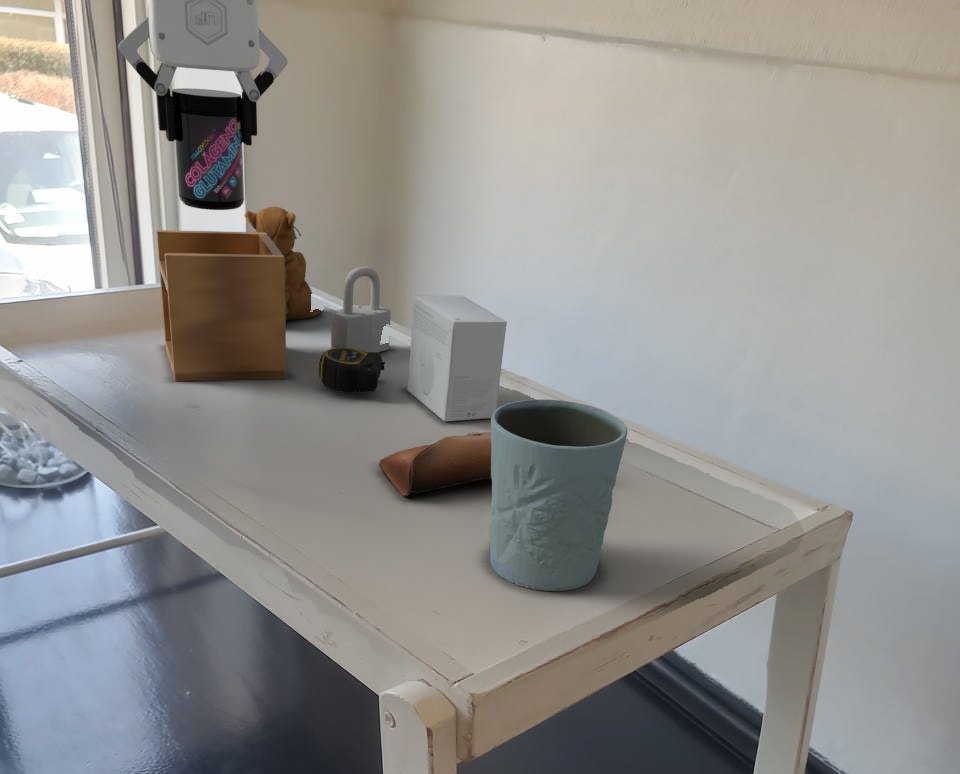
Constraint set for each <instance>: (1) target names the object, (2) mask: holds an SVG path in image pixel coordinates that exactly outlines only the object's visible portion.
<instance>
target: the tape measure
mask: <svg viewBox="0 0 960 774" xmlns="http://www.w3.org/2000/svg"><path fill="white" fill-rule="evenodd" d="M385 364H386V361H383V357H382V354H380V352H364V351H361V350H358V349H352V348H335V349H331V348H330V349H328V350H326V351H324V352H323V353H322V354H321V355H320V358H319V362H318V377H319V380H320V381H321V383H322V385H323V386H324V387H326V388H327V389H329V390H331V391H335V392H338V393H346V394H357V393H358V394H359V393H360V394H362V393H364V394H365V393H366V394H367V393H373V392H375V391H376V390H377V389H378V385H379V379H380V376H381V373H382V371H385V368H386V366H385Z"/></svg>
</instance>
